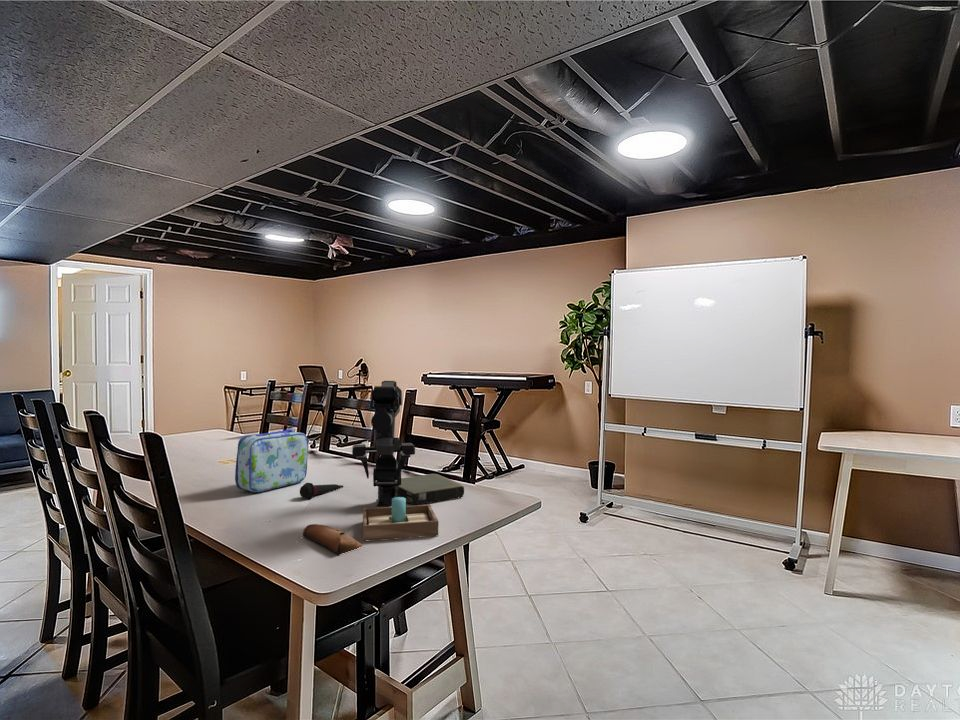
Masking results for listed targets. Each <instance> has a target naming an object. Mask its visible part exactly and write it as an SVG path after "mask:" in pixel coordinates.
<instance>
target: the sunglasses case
mask: <svg viewBox="0 0 960 720" xmlns="http://www.w3.org/2000/svg"><path fill="white" fill-rule="evenodd" d="M302 535H303V537H304V538H306V539H309V540H311V541H315V542H316V543H317V544H319V545H322V546H324V547H325V548H327V549H330V551H333V552H334V553H336V554H338V555H339V554H342V553H345V552H348V551H351V550H354V549H357V548H359V547H362V546H364V545H363V544H362V543H361V542H360V541H358V540H356V539H355V538H353V537H352V536H350V535H348V534H346V532H345V531H343V530H341V529H339V528H337V527H332V526H329V525H324V524H317V523H315V524H313V523H312V524H308V525H306V527H304V530H303V532H302ZM357 550H358V549H357ZM354 551H355V550H354ZM351 552H352V551H351ZM348 553H349V552H348ZM345 554H346V553H345ZM342 555H343V554H342Z"/></svg>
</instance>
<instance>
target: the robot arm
mask: <svg viewBox="0 0 960 720" xmlns="http://www.w3.org/2000/svg"><path fill="white" fill-rule="evenodd" d="M397 384H398V383H397V381H395V380H383V381H381V385H380V386H379V385H378V386H377V385H375V386H374V387H373V389H371V396H370V406H369V409H370V410H374V414H373V416H371V422H370V424H371V427H372V428H373V430H374V433H373V434H374V435H373V436H374V439H373V440H374V444H373V446H367V444H364V443H363V444H362V443H360V444H359V443H357V444H353V445H352V447H351V448H352V449H351V450H352V451H351V452H352V453H351V454H352V457H353V458H354V457H356V460H360V462H361V464H362V465H363V468H364V472H365V475H366V478H367V480H368V479H370V478H369V477H370V475H369V465H368V457H367V456H368V455H367V454H375V453H376V455H377V456H378V457H377V459H376V460H375V467H373V471H372V476H373V477H372V483H373V487H377V499H375V500H376V501H375V502H376V506H377V507H385V506H386V507H387V506H392V498H395V486H399V485H401V478H402V470H403V467H404V465H405V462H406V460H407V459H408V458H411V456H413V455H416V447H415V444H413V443H412V442H401V440H400V439H401V438H400V437H395V430H396V429H395V427H396V426H395V425H396V417H397V416H398V414H399V413H400V412H401V406H403V390H402V389H401V388H400V386H399V387H398V385H397ZM394 453H399V456H398V461H397V459H396V457H395V455H394ZM395 480H397V481H395Z"/></svg>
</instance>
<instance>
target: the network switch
mask: <svg viewBox="0 0 960 720" xmlns="http://www.w3.org/2000/svg"><path fill="white" fill-rule="evenodd" d="M395 481H397V480H395ZM464 494H465V486H464V485H463V483H460V482H457V481H455V480H452V479H450V478H448V477H445V476H442V475H440V474H437V473H429V474H422V475H415V476H410V477H401V485H399V486H395V497H404V498H406V503H408V504H410V505H411V506H415V505H426V504H430V503H436V502H440V501H450V500H449V499H451V500H454V499H453V498H457V499H459V498H458V497H464ZM425 503H426V504H425Z"/></svg>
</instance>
